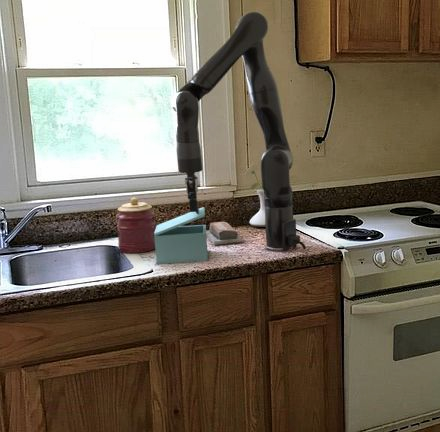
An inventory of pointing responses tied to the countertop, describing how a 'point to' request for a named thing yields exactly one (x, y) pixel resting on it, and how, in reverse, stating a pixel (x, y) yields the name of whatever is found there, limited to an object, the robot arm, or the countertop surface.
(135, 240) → the kitchen canister
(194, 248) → the box
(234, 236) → the packaged product
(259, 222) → the flower in vase
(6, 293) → the countertop surface
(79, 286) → the countertop surface
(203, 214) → the freezer lid
